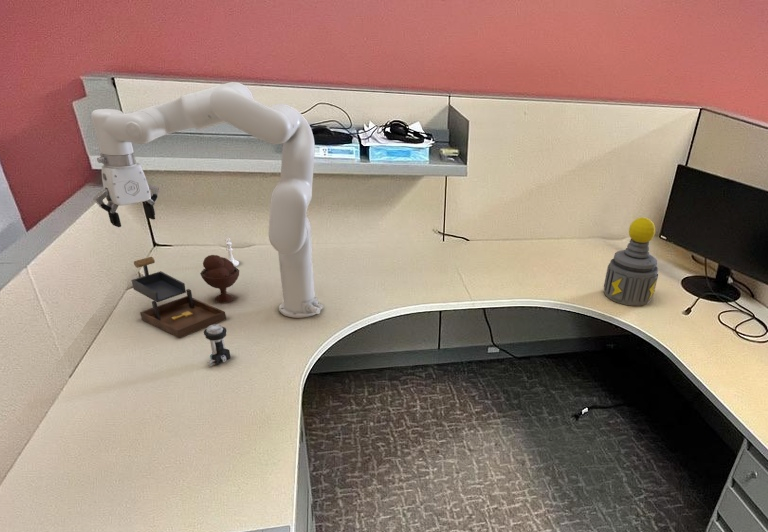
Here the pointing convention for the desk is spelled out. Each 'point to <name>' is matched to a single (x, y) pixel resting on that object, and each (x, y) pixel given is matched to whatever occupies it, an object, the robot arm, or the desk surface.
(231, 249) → the chess piece
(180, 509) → the desk surface
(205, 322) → the tray
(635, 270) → the decorative lamp
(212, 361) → the push button
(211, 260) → the ice cream bowl
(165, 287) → the scoop
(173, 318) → the key
